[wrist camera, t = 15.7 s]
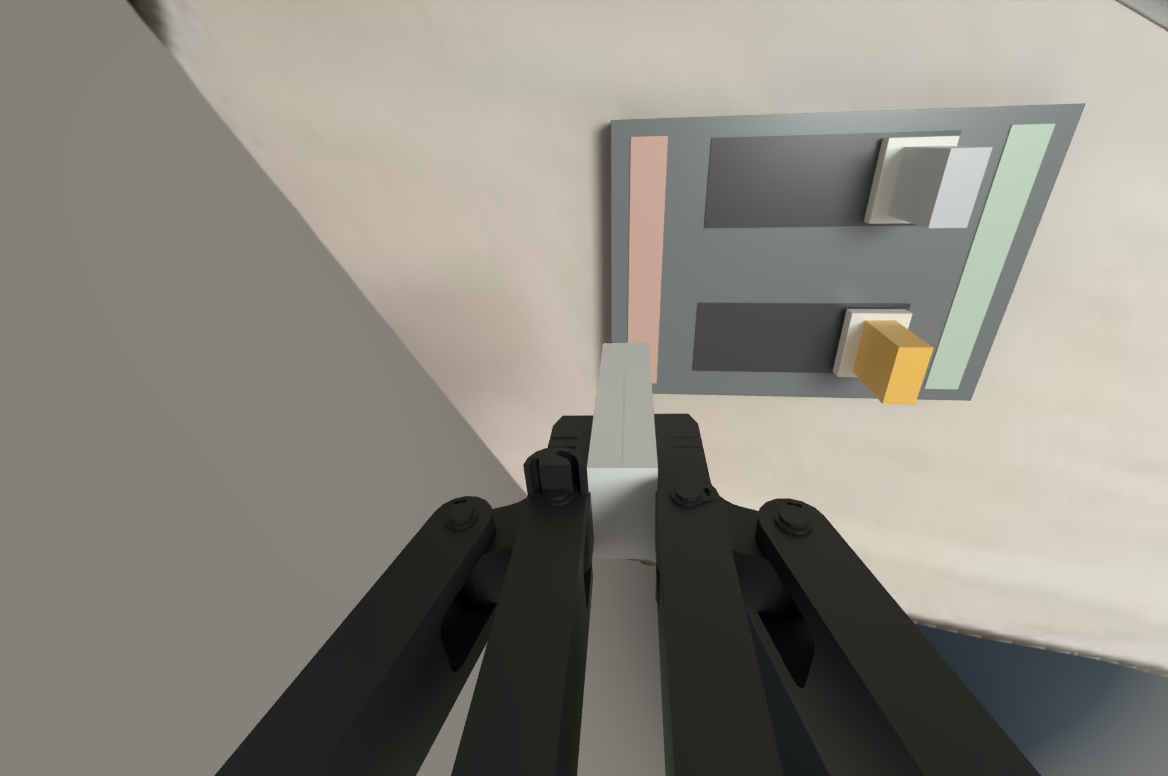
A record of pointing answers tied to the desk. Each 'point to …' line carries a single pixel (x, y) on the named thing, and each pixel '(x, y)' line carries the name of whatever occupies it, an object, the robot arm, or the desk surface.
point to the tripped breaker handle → (883, 354)
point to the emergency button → (1150, 10)
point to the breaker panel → (823, 239)
